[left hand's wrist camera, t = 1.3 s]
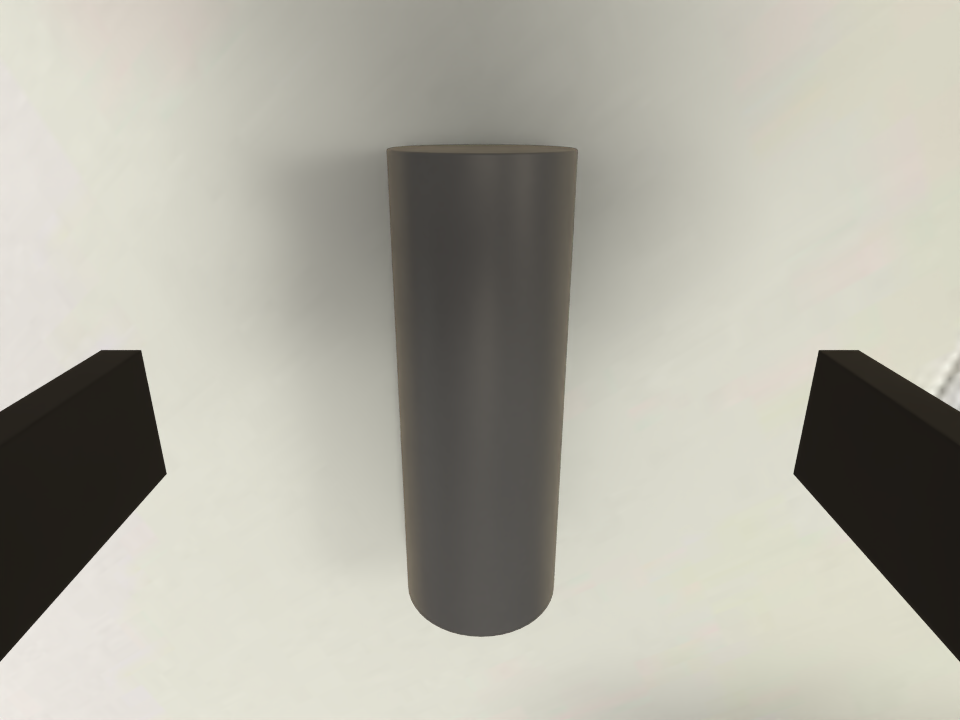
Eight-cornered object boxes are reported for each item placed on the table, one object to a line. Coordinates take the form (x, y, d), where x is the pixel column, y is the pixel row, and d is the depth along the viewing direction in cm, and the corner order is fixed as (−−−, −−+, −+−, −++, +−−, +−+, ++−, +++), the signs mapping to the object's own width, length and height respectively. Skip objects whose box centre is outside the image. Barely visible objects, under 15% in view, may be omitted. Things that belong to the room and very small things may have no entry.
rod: (399, 144, 30) (372, 152, 22) (565, 144, 30) (592, 153, 22) (415, 536, 38) (400, 637, 31) (546, 536, 38) (561, 637, 30)
